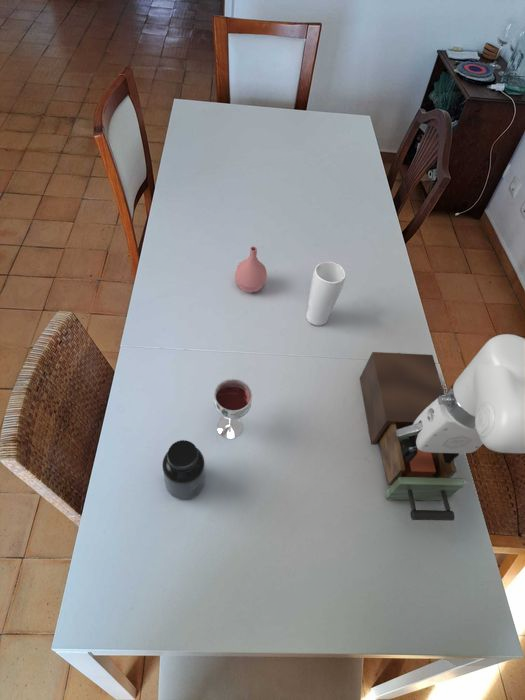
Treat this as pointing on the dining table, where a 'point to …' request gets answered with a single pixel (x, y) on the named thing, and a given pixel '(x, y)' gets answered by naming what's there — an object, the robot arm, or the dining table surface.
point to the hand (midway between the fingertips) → (425, 454)
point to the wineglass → (232, 406)
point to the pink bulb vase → (251, 273)
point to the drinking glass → (324, 291)
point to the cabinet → (397, 389)
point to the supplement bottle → (184, 470)
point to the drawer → (417, 478)
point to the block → (419, 465)
